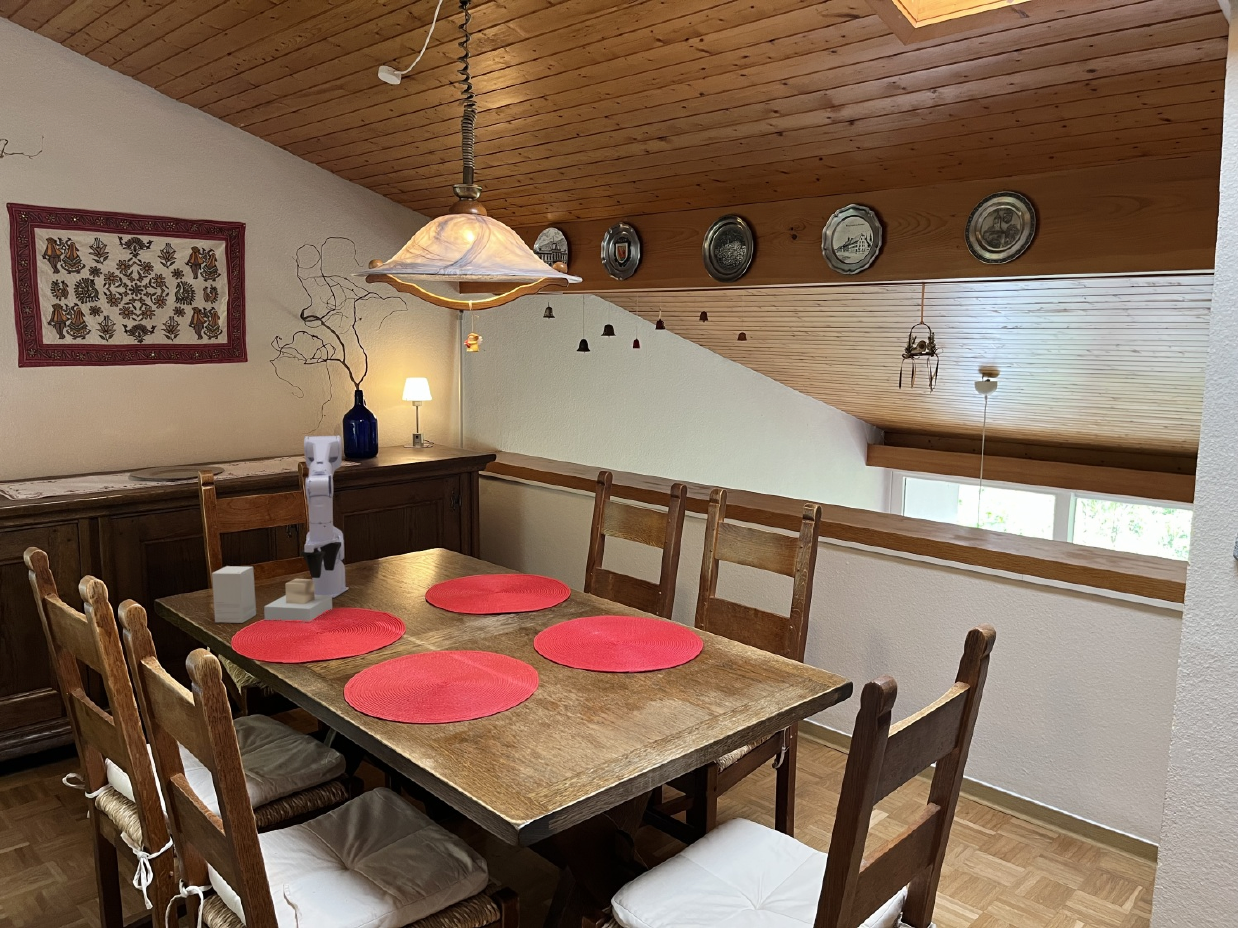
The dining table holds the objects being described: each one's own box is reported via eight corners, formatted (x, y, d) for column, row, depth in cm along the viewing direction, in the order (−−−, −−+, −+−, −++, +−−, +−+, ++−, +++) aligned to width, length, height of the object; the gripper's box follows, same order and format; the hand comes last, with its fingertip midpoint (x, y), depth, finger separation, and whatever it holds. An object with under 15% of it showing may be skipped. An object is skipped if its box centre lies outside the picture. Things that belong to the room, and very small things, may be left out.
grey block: (288, 608, 239) (288, 593, 238) (332, 610, 237) (331, 595, 236) (264, 622, 227) (264, 606, 226) (310, 624, 225) (309, 608, 225)
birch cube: (296, 597, 234) (295, 578, 234) (314, 598, 234) (313, 579, 233) (286, 602, 230) (285, 583, 229) (304, 603, 229) (303, 584, 228)
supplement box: (257, 614, 231) (254, 566, 230) (242, 623, 224) (239, 573, 222) (229, 613, 232) (226, 565, 230) (213, 622, 225) (210, 572, 223)
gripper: (322, 527, 226) (324, 581, 227) (348, 517, 240) (349, 567, 242) (295, 526, 227) (297, 580, 228) (322, 516, 241) (324, 566, 243)
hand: (322, 573), depth 235 cm, fingers open, 7 cm apart
